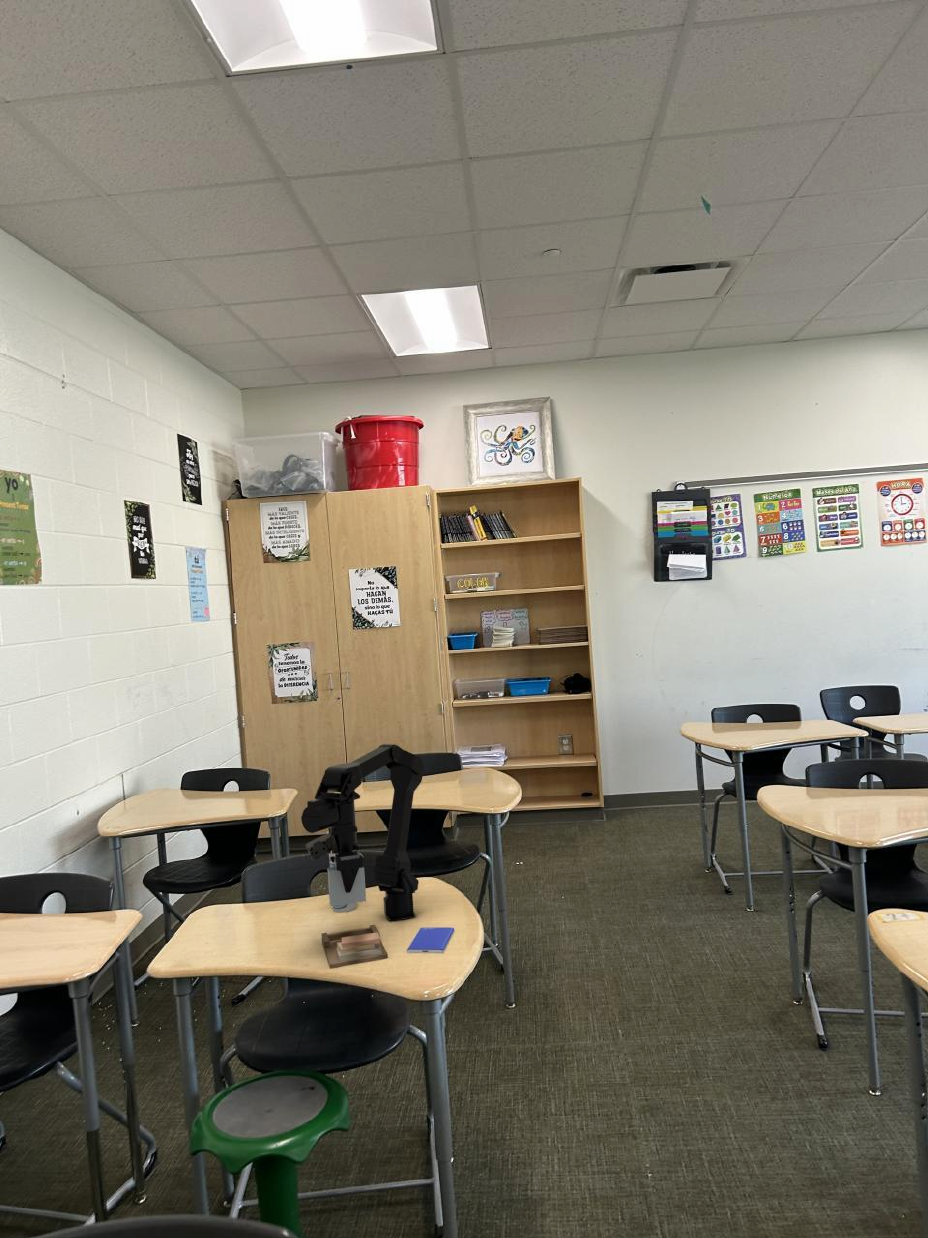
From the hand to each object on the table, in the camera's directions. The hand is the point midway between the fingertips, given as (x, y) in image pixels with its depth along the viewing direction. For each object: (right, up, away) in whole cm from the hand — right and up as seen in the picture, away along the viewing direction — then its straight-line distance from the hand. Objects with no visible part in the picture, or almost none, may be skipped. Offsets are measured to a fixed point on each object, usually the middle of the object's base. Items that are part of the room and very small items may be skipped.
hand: (347, 890), depth 184 cm
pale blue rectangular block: (0, -3, 0) cm, 3 cm away
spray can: (-4, -13, +23) cm, 27 cm away
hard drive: (+19, -11, -3) cm, 23 cm away
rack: (+2, -12, -5) cm, 13 cm away
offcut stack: (+4, -11, -9) cm, 15 cm away
